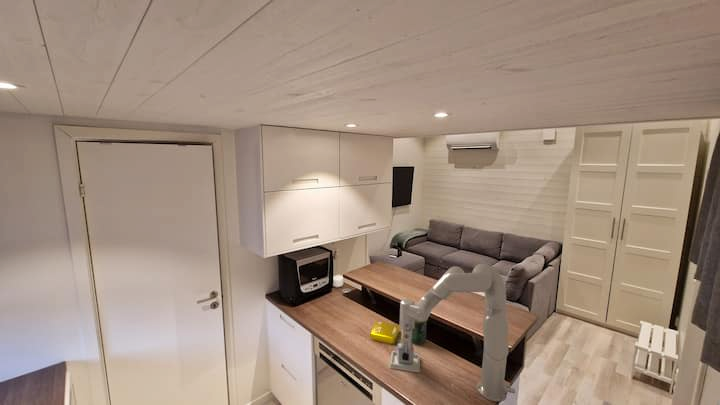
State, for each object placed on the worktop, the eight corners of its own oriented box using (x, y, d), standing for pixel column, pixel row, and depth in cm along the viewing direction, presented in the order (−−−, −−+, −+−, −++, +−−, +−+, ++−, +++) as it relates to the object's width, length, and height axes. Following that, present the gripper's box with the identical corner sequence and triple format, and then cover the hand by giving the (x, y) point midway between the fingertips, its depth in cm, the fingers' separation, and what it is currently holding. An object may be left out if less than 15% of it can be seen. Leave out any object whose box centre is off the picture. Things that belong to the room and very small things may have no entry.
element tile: (394, 345, 168) (394, 337, 167) (369, 340, 172) (369, 332, 172) (399, 331, 182) (399, 324, 181) (376, 326, 186) (376, 319, 186)
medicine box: (411, 358, 155) (412, 342, 154) (413, 363, 150) (414, 348, 149) (396, 358, 155) (397, 343, 153) (398, 363, 150) (398, 348, 149)
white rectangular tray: (419, 357, 157) (419, 354, 156) (419, 372, 146) (419, 368, 146) (391, 354, 159) (391, 350, 159) (389, 367, 149) (389, 363, 148)
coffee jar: (418, 347, 166) (419, 316, 163) (407, 340, 172) (409, 311, 169) (428, 340, 172) (430, 311, 169) (417, 334, 178) (419, 306, 175)
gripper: (414, 334, 141) (412, 368, 143) (414, 316, 157) (413, 347, 160) (398, 332, 142) (397, 366, 144) (400, 314, 159) (399, 345, 161)
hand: (405, 355), depth 152 cm, fingers closed on medicine box, 5 cm apart
